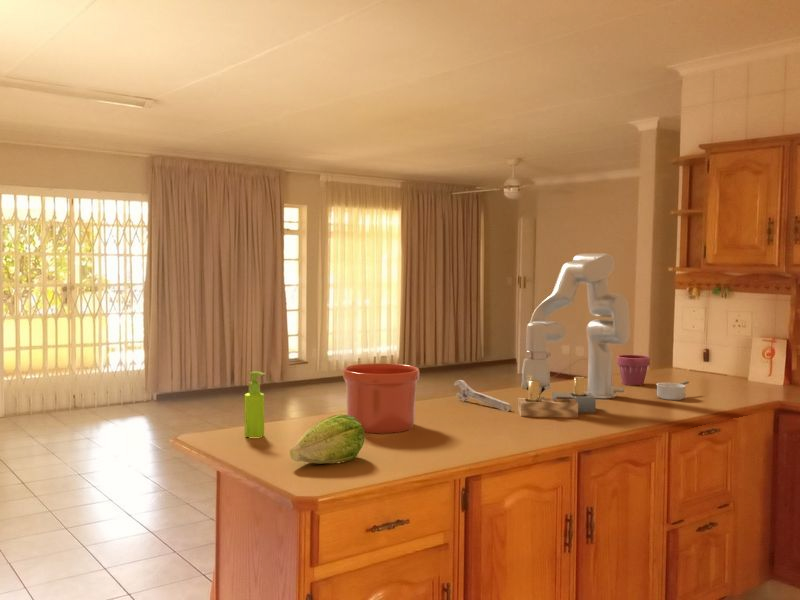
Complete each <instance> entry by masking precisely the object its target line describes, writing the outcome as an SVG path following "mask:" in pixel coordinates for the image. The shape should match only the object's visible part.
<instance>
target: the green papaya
mask: <svg viewBox="0 0 800 600" xmlns="http://www.w3.org/2000/svg"><path fill="white" fill-rule="evenodd" d="M364 443H365V432H364V430H363V426H362V424H361V423H360V422H359V421H358V420H357V419H356V418H354V417H352V416H348V415H347V414H335V415H334V414H333V415H331V416H330V417H326V418H324V419H322V420H320V421H319V422H318V423H316V424H314V425H313V426H311V427H310V428H309V429H307V430H306V431H305V432H304V434H302V436H301V437H300V438H299V439H298V441H297V442H296V444H295V445H294V446H292V447H291V448H290V450H289V455H290V458H291V460H292V461H294V462H305V463H310V464H318V465H320V464H334V463H337V464H339V463H338V462H342V461H347V460H350V461H352V460H354V459H356V458H357V456H358V455H359V453H360V452H361V450H362V448H363V445H364ZM351 459H352V460H351ZM347 462H348V461H347ZM342 463H343V462H342Z"/></svg>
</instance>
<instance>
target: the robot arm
mask: <svg viewBox="0 0 800 600" xmlns="http://www.w3.org/2000/svg"><path fill="white" fill-rule="evenodd" d="M615 263H616V262H615V259H614V257H613V256H612V255H611V254H608V253H602V252H601V253H590V252H589V253H588V252H587V253H586V252H585V253H578V254H576V255H574V257H572V261H567V262H564V263H563V264H562V266H561V268H560V270H559V273H558V275H557V279H556V280H555V284H554V287H553V290H552V292H551V294H550V295H548V297H546V298H545V299H544V300H542V302H540V304H539V305H537V307H536V308H535V309H534V311H533V313H532V315H531V318H530V321H529V322H528V323H527V325H526V332H525V333H526V337H525V338H526V339H525V340H526V342H525V350H526V351H525V358H523V362H522V365H521V366H522V367H521V386H520V388H521V389H522V390H525V391H528V381H529V380H538V381H540V395H541V394H542V393H543V392H544V391H547V390H551V385H550V384H551V375H550V374H551V371H550V370H551V369H550V362H549V359H548V358H550V357H551V356H552V355H551V352H548V351H547V350H548V348H547V347H548V346H547V343H548V342H556V343H557V342H560V341H562V340H563V339H564V337H565V336H566V333H567V331H566V328H565V325H564V324H562V323H560V322H558V321H549V320H547V318H548V317H549V316H550V315H551V314H552V313H555V312H556V311H558V310H561V309H563V308H565V307H567V306H569V305H571V304H572V303H573V301H574V299H575V296H576V293H577V291H578V287H579V285H580V284H586V292H587V307H588V310H589V311H588V312H589V313H590V315H592V316H594V317H601V318H597V319H593V320H590V321H589V322H588V323H587V326H586V329H585V330H586V339H587V343H588V344H587V346H588V351H587V352H588V358H587V359H588V360H587V365H588V366H587V390H585V393H591V394H592V395H593V396H594V397H595V398H596V399H613V398H616V393H624V392H625V391H624V389H625V387H619V386H617V387H616V386H614V385H613V351H612V349H611V346H610V344H611V345H624V344H626V343H628V341H629V339H630V335H631V326H630V311H629V309H630V308H629V303H628V300H627V298H626V296H624V295H623V294H620V293H611V292H610V288H609V281H608V278H607V277H608V276H609V275H611V274H612V272H613V271H614V269H615V266H616V264H615ZM603 317H604V319H603ZM605 318H611V319H605ZM539 398H541V396H540V397H539Z"/></svg>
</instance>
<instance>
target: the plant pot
mask: <svg viewBox="0 0 800 600" xmlns="http://www.w3.org/2000/svg"><path fill="white" fill-rule="evenodd" d="M616 357H617V358H616V363H617V365H618V368H619V373H620V378H621V383H622V385H625V384H627V385H626V386H632V385H640V386H644V385H645V379H646V375H647V371H648V367H649V366H650V365H651V363H650V362H651V361H650V360H651V359H650V356H648V355H642V354H620V355H619V354H618V355H617V356H616Z"/></svg>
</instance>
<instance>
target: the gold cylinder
mask: <svg viewBox="0 0 800 600" xmlns="http://www.w3.org/2000/svg"><path fill="white" fill-rule="evenodd" d="M585 391H586V377H584V376H574V377H573V392H574V396H585Z"/></svg>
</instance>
